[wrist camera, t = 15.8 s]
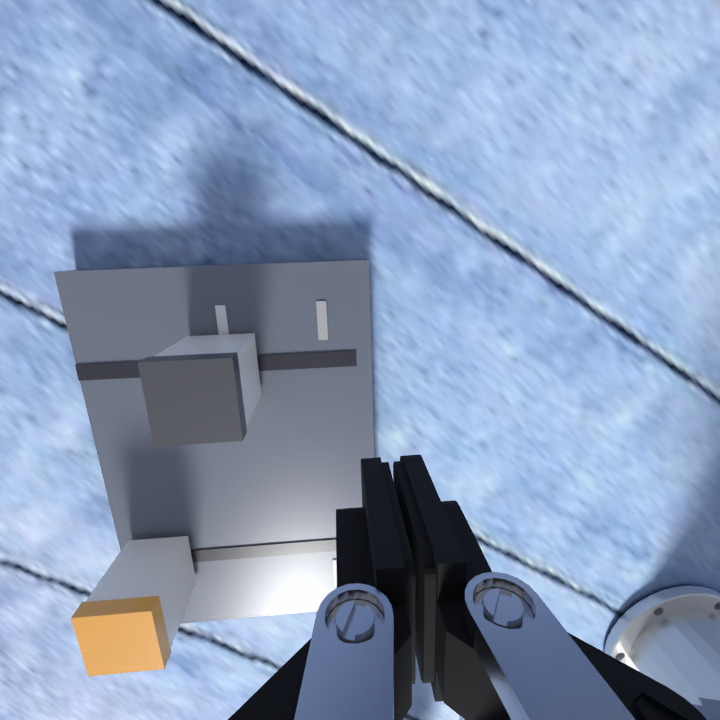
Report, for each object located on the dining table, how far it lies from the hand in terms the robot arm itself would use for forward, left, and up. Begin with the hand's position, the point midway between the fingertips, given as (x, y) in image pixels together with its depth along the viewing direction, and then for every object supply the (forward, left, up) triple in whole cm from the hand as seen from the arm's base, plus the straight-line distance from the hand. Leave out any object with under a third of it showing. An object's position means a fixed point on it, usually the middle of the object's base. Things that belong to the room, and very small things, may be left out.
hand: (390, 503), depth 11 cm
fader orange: (+14, +14, -14) cm, 24 cm away
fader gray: (+8, 0, -14) cm, 17 cm away
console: (+8, +7, -17) cm, 20 cm away
